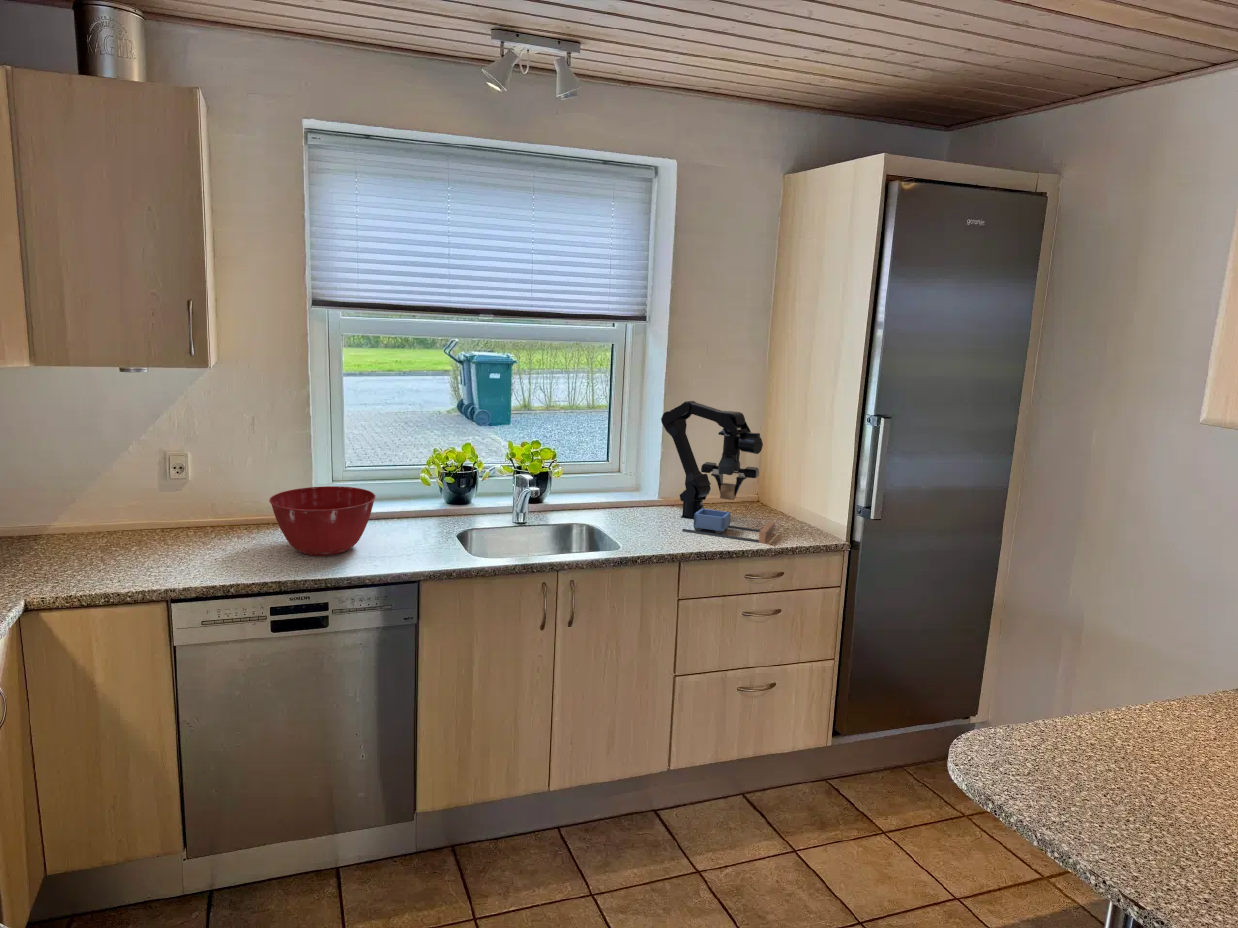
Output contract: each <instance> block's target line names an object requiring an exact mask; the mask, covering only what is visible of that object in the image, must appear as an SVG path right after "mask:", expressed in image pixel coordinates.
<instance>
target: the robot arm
mask: <svg viewBox="0 0 1238 928" xmlns="http://www.w3.org/2000/svg"><path fill="white" fill-rule="evenodd" d="M692 415H693V416H696V417H699V418H703V419H706V420H709V421H713V422H714V423H716V424H717V425H718V426H719V427H721V428H722V430H720V431H719V432H718V433H717V434H718V435H719V436H723V446H722V452H721V453H722V454H721V457H720V460H719V462H718V464H717V462H711V461H706V462H705V463H703V464H702V465H701V468H700V469H699V466H698V463H697V460H696V458H695V455H694V452H693V450H692V447H691V444H690V441H689V438H688V436H687V420H688V419H690V418H691V416H692ZM660 420H661V421H660V422H661V424H662V426H663V428H664V429H665V432H667V433H668V435H670V436H671V438H672V439H673V444H674V445H675V448H676V451H677V454H678V457H679V459H680V462H681V466H682V469H683V470H684V474H685V481H684V486H685V489H684V491H682V492H681V493H680V494H679V499H680V501H681V502H682V513H681V516H680V518H681V519H688V520H693V521H694V514H695V513H696V512H698V511H699V510H700V509H705V505H704V504H703V502H704V501H706V498H707V496H708V495H709V494H710V491H711V484H712V483H711V482H710V480H709V476H708V474H710V475H711V476H712V477H713V478H714V479H715V480H716V483H717V484H716V485H717V487H718V490H719V493H720V492H721V485H722V484H723V483H724V475H727V476H732V475H733V474H737V477H735V478H736V482H735V484H736V486H735V495H734V496H736V497H737V494H738V492H739V491H740V487H741V485H742V484H743V481H744V480H747V479H748V478H749V479H757V478H758V477H759V475H760V470H759V468H758V467H755V466H747V467H745V468H741V462H740V457H741V452H743V453H750V454H754V455H758V454H760V453H761V452H762V450H763V447H764V446H763V445H764V443H763V439H762V437H761V433H759V432H751V429H750V427H749V425H748V423H747V422H746V417H745V416H744V414H743V412H740V411H732V410H728V411H727V410H721V409H718V408H715V407H713V406H708V405H705V404H701V403H699V402H697V401H695V400H689V401H688V400H687V401H684V402H683V403H682V404H680V405H678V406H676V407H674V408H673V409H671V410H669V411H665V412H663V414H662V416H661V418H660Z"/></svg>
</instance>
